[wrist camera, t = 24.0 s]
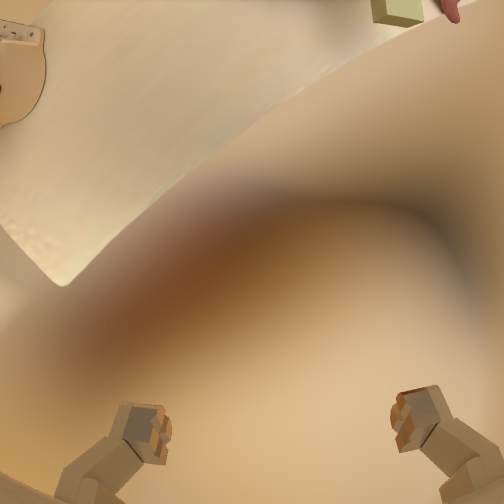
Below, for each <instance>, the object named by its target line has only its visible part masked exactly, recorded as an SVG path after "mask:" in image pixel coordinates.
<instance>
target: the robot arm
mask: <svg viewBox="0 0 504 504" xmlns="http://www.w3.org/2000/svg"><path fill="white" fill-rule="evenodd" d="M32 34H33V36H32ZM43 42H44V30H43V29H40V28H36V27H32V26H28V25H24V24H20V23H15V22H10V21H5V20H0V128H1V127H2V126H4V125H5V124H7V123H13V122H17V121H19V120H21V119H23V118H24V117H25V116H26V115H28V114H29V112H30V111H31V110H32V109H33V107H34V106H35V104H36V102H37V101H38V99H39V96H40V94H41V91H42V88H43V84H44V79H45V58H44V53H43ZM396 401H397V403H396V404H394V405H393V406H392V409H391V414H390V420H391V425H392V429H394V430H395V431H396V432H397V433H398V434H397V436H396V443H397V446H398V450H399V453H403V452H408V451H412V450H416V449H420V448H421V449H420V450H421V451H422V452H423V453H424V454H425V455H426V456H427V457H428V458H429V459H430V460H431V461H432V462H433V463H434V464H435V465H436V466H437V467H439V468H440V469H441V470H442V471H443V472H444V473H445V474H446V475H447V476H448V477H449V479H448V480H447V481H446V482H445V483H444V484H443V485H442V486H441V487H440V488H439V491H440V495H441V499H442V502H443V504H504V459H503V457H502V454H501V452H500V450H499V447H498V446H497V445H495V444H494V443H492V442H491V441H489V440H488V439H486V438H485V437H483V436H482V435H481V434H479V433H477V432H476V431H475V430H473V429H472V428H471V427H469V426H468V425H466V424H465V423H463V422H462V421H460V420H459V419H458V418H454V419H453V416H452V415H451V412H450V410H449V407H448V405H447V403H446V401H445V398H444V396H443V394H442V392H441V390H440V388H439V386H438V385H432V386H428V387H423V388H418V389H414V390H409V391H405V392H400V393H399V394H398V395H397V397H396ZM171 435H172V425H171V421H170V419H169V417H167V416H166V415H165V409H164V407H163V406H161V405H150V404H140V403H133V402H124V401H123V402H122V403H121V404H120V405H119V408H118V411H117V413H116V416H115V419H114V422H113V425H112V427H111V431H110V433H109V436H108V437H103V438H102V439H101V440H100V441H99V442H97V443H96V444H95V445H94V446H92V447H91V448H90V449H88V450H87V451H86V452H85V453H83V454H82V455H81V456H80V457H78V458H77V459H76V460H75V461H73V462H72V463H71V464H69V465H68V466H67V467H65V468H64V469H63V472H62V475H61V477H60V480H59V483H58V486H57V488H56V491H55V494H54V497H52V496H50V495H47V494H45V493H43V492H40V491H38V490H36V489H34V488H32V487H29V486H27V485H25V484H23V483H21V482H19V481H17V480H15V479H13V478H11V477H9V476H8V475H6V474H4V473H2V472H0V504H125V503H124V502H123V501H122V500H121V499H119V498H118V497H117V496H115V494H116V493H117V492H118V491H119V490H120V489H121V488H122V487H123V486H124V485H125V483H127V482H128V481H129V479H130V478H131V477H132V476H133V475H134V474H135V473H136V472H137V471H138V470H139V469H140V468H141V467H142V466H143V464H144V463H148V464H156V465H165V464H166V459H167V454H168V449H167V447H166V446H165V445H166V444H167V443H168V442H169V441H170V440H171Z"/></svg>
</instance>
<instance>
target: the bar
mask: <svg viewBox="0 0 504 504" xmlns="http://www.w3.org/2000/svg"><path fill="white" fill-rule="evenodd" d="M371 7H372V15H373V23H380V24H387V25H393V26H399V27H405V28H409V27H411V26H414V25H417V24H419V23H422V22H424V16H423V9H422V3H421V0H371Z"/></svg>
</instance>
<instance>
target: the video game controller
mask: <svg viewBox="0 0 504 504" xmlns="http://www.w3.org/2000/svg"><path fill="white" fill-rule="evenodd" d="M459 1H460V0H440V2H441V6H442V9H443V11H444V13H445V15H446V16H447V18H448V19H449V20H450V21H451V22H452V23H455V24H456V23H459V22H460V17H459V13H458V9H457V3H458V2H459Z"/></svg>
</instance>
